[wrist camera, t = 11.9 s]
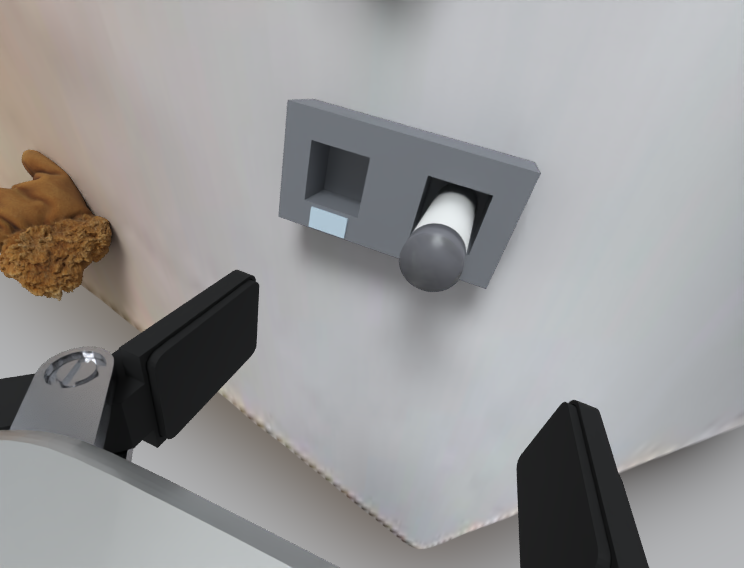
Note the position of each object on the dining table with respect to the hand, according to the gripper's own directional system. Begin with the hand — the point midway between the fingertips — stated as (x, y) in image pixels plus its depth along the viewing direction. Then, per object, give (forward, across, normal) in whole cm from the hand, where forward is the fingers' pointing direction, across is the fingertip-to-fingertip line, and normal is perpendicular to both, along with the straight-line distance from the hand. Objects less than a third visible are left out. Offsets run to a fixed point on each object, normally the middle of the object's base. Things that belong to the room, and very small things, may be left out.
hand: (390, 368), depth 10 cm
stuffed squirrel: (+20, +41, +15) cm, 48 cm away
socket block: (+20, +4, 0) cm, 20 cm away
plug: (+19, 0, 0) cm, 19 cm away
